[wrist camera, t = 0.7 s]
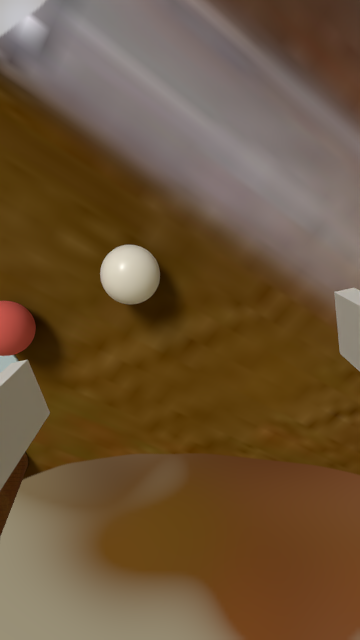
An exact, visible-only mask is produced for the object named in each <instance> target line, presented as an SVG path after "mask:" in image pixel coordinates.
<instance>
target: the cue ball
mask: <svg viewBox="0 0 360 640" xmlns="http://www.w3.org/2000/svg"><path fill="white" fill-rule="evenodd" d="M100 277H101V282H102V285H103V287H104V289H105V291H106V292H107V293H108V295H109V296H110V297H112V298H113V299H114V300H116V301H118V302H120V303H123V304H138V303H141V302H144V301H146V300H147V299H149V298H150V297H151V296H152V295H153V294H154V292H155V291H156V289H157V287H158V285H159V281H160V269H159V265H158V263H157V261H156V259H155V258H154V256H153V255H152V254H151V253H150V252H149V251H147V250H146V249H144V248H142V247H140V246H136V245H123V246H120V247H117V248H115V249H114V250H112V251H111V252H110V253H109V254H108V255H107V256H106V257H105V259H104V261H103V263H102V266H101V272H100Z"/></svg>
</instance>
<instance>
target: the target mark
mask: <svg viewBox="0 0 360 640" xmlns="http://www.w3.org/2000/svg"><path fill="white" fill-rule="evenodd" d="M14 362H19V361H18V359H17V358H16V356H15V355H10V356H0V373H1V372H2V371H3V370H4V369H5V368H6V367H8V366H9V365H10V364H11V363H14Z"/></svg>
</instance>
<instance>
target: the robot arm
mask: <svg viewBox="0 0 360 640" xmlns="http://www.w3.org/2000/svg"><path fill="white" fill-rule="evenodd" d="M334 294H335V305H336V316H337V327H338V338H339V349H340V354H341V355H342V356H343V357H345V358H346V359H347V360H348V361H349V362H350V363H351V364H352V365H353V366H354V367H355V368H357V369H358V370H359V371H360V290H357V289H355V288H350V289H346V290H341V291H337V292H334ZM49 414H50V412H49V409H48V407H47V405H46V402H45V400H44V397H43V395H42V393H41V390H40V388H39V385H38V383H37V381H36V378H35V376H34V373H33V371H32V369H31V366H30V364H29V361H28V360H24V361H19V362H14V363H11V364H10V365H9V366H8V367H6V368H5V369H4V370H3V371H2V372H1V373H0V490H1V489H2V487H3V485H4V484H5V482H6V481H7V479H8V478H9V476H10V475H11V473H12V471H13V470H14V468H15V467H16V465H17V464H18V462H19V461H20V459H21V457H22V456H23V454H24V453H25V451H26V450H27V448H28V447H29V445H30V443H31V442H32V440H33V439H34V437H35V436H36V434H37V433H38V431H39V429H40V428H41V426H42V425H43V423H44V422H45V420H46V419H47V417H48V415H49Z"/></svg>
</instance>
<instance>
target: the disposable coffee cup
mask: <svg viewBox="0 0 360 640" xmlns="http://www.w3.org/2000/svg"><path fill="white" fill-rule="evenodd" d="M27 467H28V457H27V455H26V453H24V454H23V456H22V457H21V459H20V461H19V462H18V464H17V465H16V467H15V468H14V470H13V471H12V473H11V475H10V476H9V478H8V479H7V481H6V482H5V484H4V485H3V487H2V489H1V490H0V536H1V533H2V530H3V528H4V525H5V523H6V520H7V518H8V515H9V513H10V510H11V508H12V505H13V503H14V500H15V497H16V494H17V492H18V489H19V487H20V484H21V482H22V479H23V476H24V474H25V472H26V469H27Z"/></svg>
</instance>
